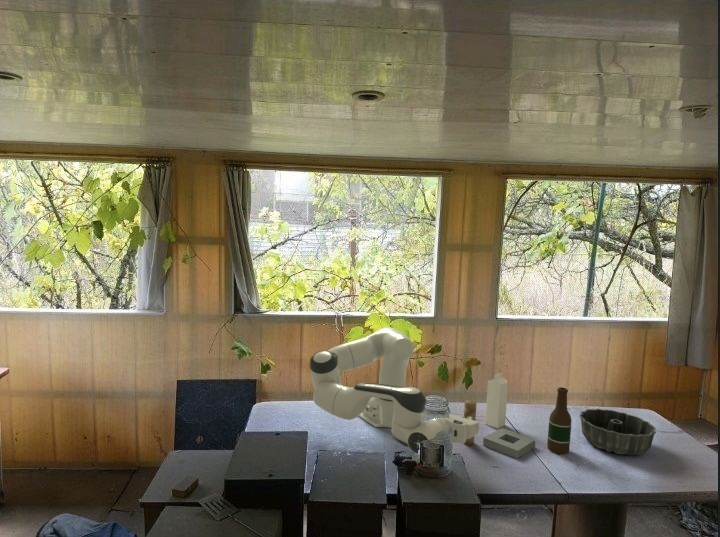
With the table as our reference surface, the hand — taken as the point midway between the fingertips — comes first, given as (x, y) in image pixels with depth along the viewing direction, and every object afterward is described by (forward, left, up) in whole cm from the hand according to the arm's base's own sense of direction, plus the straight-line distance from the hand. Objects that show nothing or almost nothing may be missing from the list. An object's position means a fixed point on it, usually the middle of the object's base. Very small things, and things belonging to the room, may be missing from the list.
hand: (458, 415), depth 172 cm
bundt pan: (+36, +55, -15) cm, 68 cm away
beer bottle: (+23, +33, -15) cm, 43 cm away
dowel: (-3, +12, -15) cm, 20 cm away
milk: (-5, +36, -15) cm, 40 cm away
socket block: (+9, +22, -15) cm, 28 cm away
